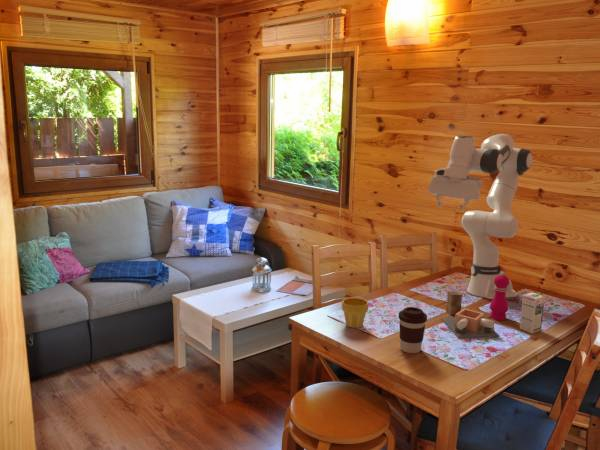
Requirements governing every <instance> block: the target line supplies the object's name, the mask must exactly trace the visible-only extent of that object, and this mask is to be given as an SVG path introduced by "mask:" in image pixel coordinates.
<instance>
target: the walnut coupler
mask: <svg viewBox="0 0 600 450" xmlns="http://www.w3.org/2000/svg"><path fill="white" fill-rule="evenodd" d="M446 296H447V298H446V299H447V300H446V308H445V310H446V311H445V312H447V313H448V315H449V316H455V314H456V313H458V312H459V311H461V310H462V303H463V301H462V300H463V294H462V293H461V292H459V290H448V291H447V295H446Z"/></svg>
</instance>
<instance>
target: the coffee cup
mask: <svg viewBox="0 0 600 450" xmlns="http://www.w3.org/2000/svg"><path fill="white" fill-rule="evenodd" d="M398 319H399V339H400V341H399V342H400V343H399V344H400V345H399V347H400V349H401V351H403V352H405V353H407V354H418V353H420V352H421V350H422V347H423V346H422V345H423V341H424V337H425V336H424V335H425V328H426V325H425V324H426V322H427V321H428V315H427V314H426V312H424V311H423V309H421V308H419V307H415V306H408V307H407V306H406V307H405V308H403V309H402V310H400V311H399V312H398Z"/></svg>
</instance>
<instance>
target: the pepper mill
mask: <svg viewBox="0 0 600 450" xmlns="http://www.w3.org/2000/svg"><path fill="white" fill-rule="evenodd" d="M509 280H510V279H509V277H508V276H507V275H505V271H504V272H503V271H501V273H500V275H498V276H496V277H495V278H494V284H495V288H494V289H495V296H494V298H493V299H491V301H490V304H489V309H490V310H491V311H490V314H489V316H490V318H491V319H493V320H497V321H505V320H506V319H507V314H506V313H507V312H508V311H509V304H508V301H507V298H506V291H507V286H508V285H509Z"/></svg>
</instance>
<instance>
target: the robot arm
mask: <svg viewBox="0 0 600 450" xmlns="http://www.w3.org/2000/svg"><path fill="white" fill-rule="evenodd" d="M532 164H533V153H532V152H531V150H529V149H528V148H517V147H515V142H514V139H513V137H512V136H511V135H509V134H506V133H498V134H495V135H491V136H489V137H487V138H486V139H484V140H483V142H482V143H481V145H480V148H475V138H474V137H473V136H471V135H457V136H455V138H454V139H453V142H452V144H451V149H450V152H449V162H448V163H447V167H446V168H441V169H436V170H434V173H433V174H434V175H433V177H432V178H431V179H430V182H429V186H428V189H427V190H428V193H429V194H431V195H435V198H436V202H437V203H436V206H437V207H442V206H443V202H442V201H441V200H440V199H441V198H442V196H443V197H450V198H456V199H463V201H464V203H463V204H460V207H459V210H460V211H465V209H466V206H467V205H468V204H469V203H470V201H478V200H479V199H480V195H481V192H480V191H481V188H482V186H483V179H481V178H480V177H477V176H470V172H472V173H473V172H475V173H484V174H491V175H494V174H496V173H497V172H499V173H498V174H497V176H496V178H495V179H494V181H493V183H492V184H491V187H490V189H489V192H488V195H487V196H486V203H487V206H488V207H489V208H490V209H492V210H493V211H486V210H485V211H484V210H478V209H477V210H476V209H475V210H467V211H466V212H465V213H463V215H462V217H461V227H462V229H463V230H464V231H465V232H466V233H467V234H468V235H469V237H470V239H471V242H472V244H473V245H472V246H473V258H472V263H471V269H470V272H471V275H470V279H469V284H468V287H467V289H466V292H468V293H469V294H470V295H473V296H475V297H480V298H481V297H482V298H485V299H488V300H493V298H494V296H495V289H494V288H495V284H494V278H495V277H496V276H498V275H500V273H501V272H504V273H505V271H506V268H505V267H504V266H501V265H499V259H500V257H499V256H500V250H499V247H498V245H496V244H495V243H493V242H492V240H491V239H490V237H492V238H493V237H494V238H500V239H510V238H511V239H512V238H514V236H515V235H516V234H517V233H518V230H519V221H518V220H517V218H516V217H515V216H514V215H513V213H512V210H511V208H512V207H511V206H512V204H513V203H512V202H513V200H514V198H515V195H516V193H517V189H518V187H519V180H520V178H519V176H522V175H524V173H525V172H528V170H529V169H530V168H531V167H532ZM517 297H518V293H517V292H516V290H514V289H513V284H512V281H511V280H510V279H509V285H508V286H507V291H506V299H507V298H517Z"/></svg>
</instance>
